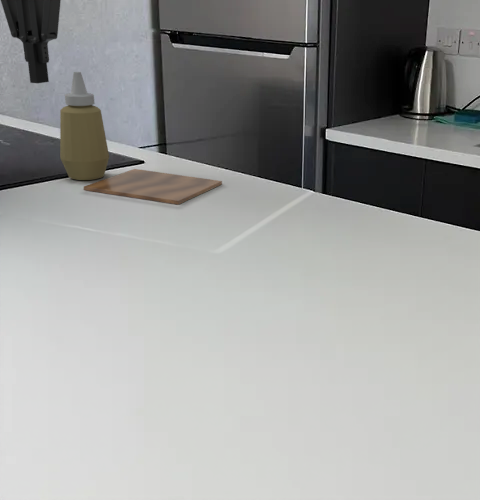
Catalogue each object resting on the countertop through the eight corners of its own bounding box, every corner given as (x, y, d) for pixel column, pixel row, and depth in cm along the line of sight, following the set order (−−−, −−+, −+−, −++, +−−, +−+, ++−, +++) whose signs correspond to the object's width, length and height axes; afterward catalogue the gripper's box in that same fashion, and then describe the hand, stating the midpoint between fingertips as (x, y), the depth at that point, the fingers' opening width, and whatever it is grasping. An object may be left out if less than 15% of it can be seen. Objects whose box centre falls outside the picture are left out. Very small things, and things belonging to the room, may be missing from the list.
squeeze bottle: (119, 173, 124) (111, 71, 117) (96, 184, 116) (86, 76, 110) (78, 169, 125) (68, 68, 118) (52, 180, 117) (40, 73, 111)
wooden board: (83, 190, 113) (83, 186, 112) (134, 171, 125) (134, 168, 125) (178, 204, 107) (178, 201, 107) (222, 184, 120) (222, 180, 120)
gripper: (72, -66, 111) (85, 83, 119) (7, -67, 114) (25, 77, 123) (38, -70, 104) (55, 87, 112) (-29, -72, 108) (-8, 81, 116)
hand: (39, 82), depth 117 cm, fingers closed
